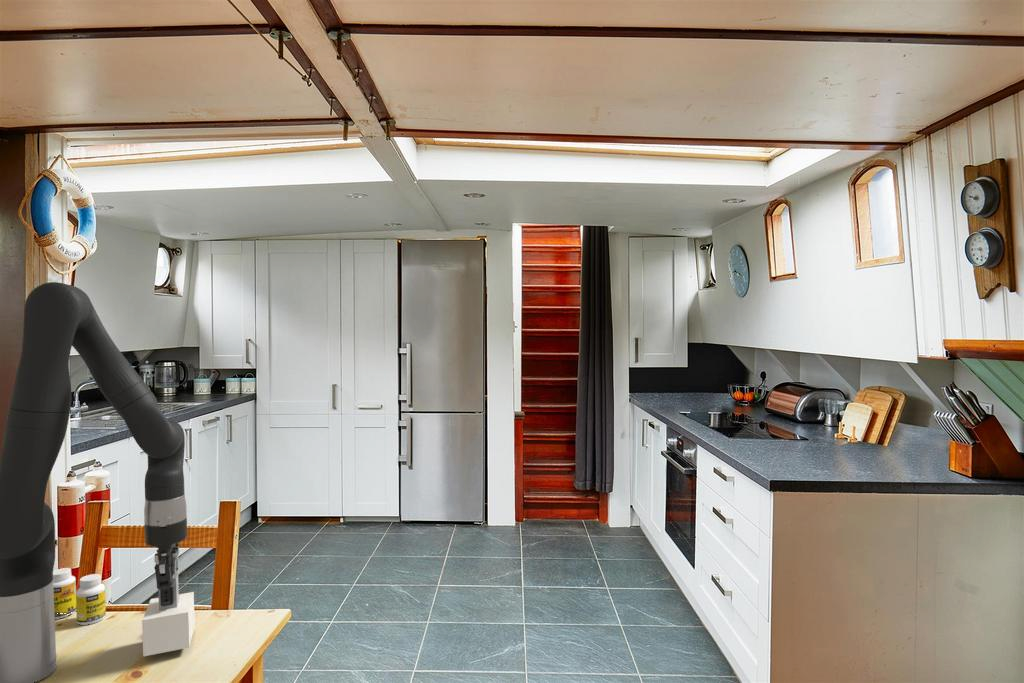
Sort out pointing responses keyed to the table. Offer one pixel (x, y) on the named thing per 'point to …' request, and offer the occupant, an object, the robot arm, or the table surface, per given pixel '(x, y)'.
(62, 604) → the supplement bottle
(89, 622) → the supplement bottle
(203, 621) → the table surface
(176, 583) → the white block
